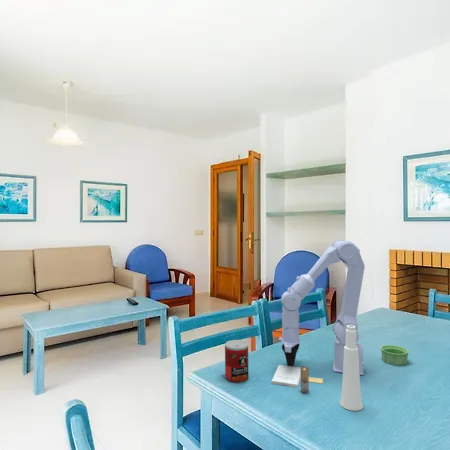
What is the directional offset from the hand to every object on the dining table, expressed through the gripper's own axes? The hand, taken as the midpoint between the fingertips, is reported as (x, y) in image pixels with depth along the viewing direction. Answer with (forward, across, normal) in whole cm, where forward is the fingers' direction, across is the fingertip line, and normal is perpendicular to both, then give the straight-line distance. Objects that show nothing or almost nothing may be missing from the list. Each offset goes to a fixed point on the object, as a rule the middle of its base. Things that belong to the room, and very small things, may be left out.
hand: (290, 365), depth 119 cm
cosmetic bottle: (+1, +19, +19) cm, 27 cm away
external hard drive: (+2, +7, 0) cm, 7 cm away
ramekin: (+1, -17, +35) cm, 39 cm away
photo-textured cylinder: (+1, +15, +6) cm, 16 cm away
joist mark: (+1, +7, +8) cm, 11 cm away
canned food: (+1, +12, -16) cm, 20 cm away
